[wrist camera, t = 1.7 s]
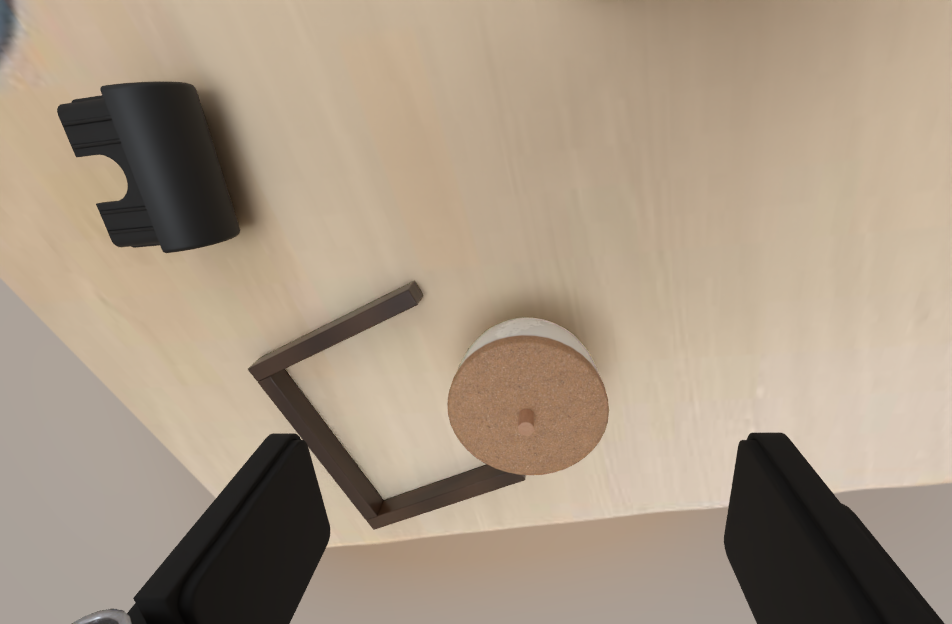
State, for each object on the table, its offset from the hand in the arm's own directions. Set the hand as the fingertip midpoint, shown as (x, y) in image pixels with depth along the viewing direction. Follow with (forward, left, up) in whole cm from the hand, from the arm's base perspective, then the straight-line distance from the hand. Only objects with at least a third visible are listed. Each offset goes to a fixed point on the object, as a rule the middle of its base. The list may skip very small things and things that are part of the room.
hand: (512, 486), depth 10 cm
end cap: (+20, -15, -26) cm, 36 cm away
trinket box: (+5, +10, -26) cm, 28 cm away
